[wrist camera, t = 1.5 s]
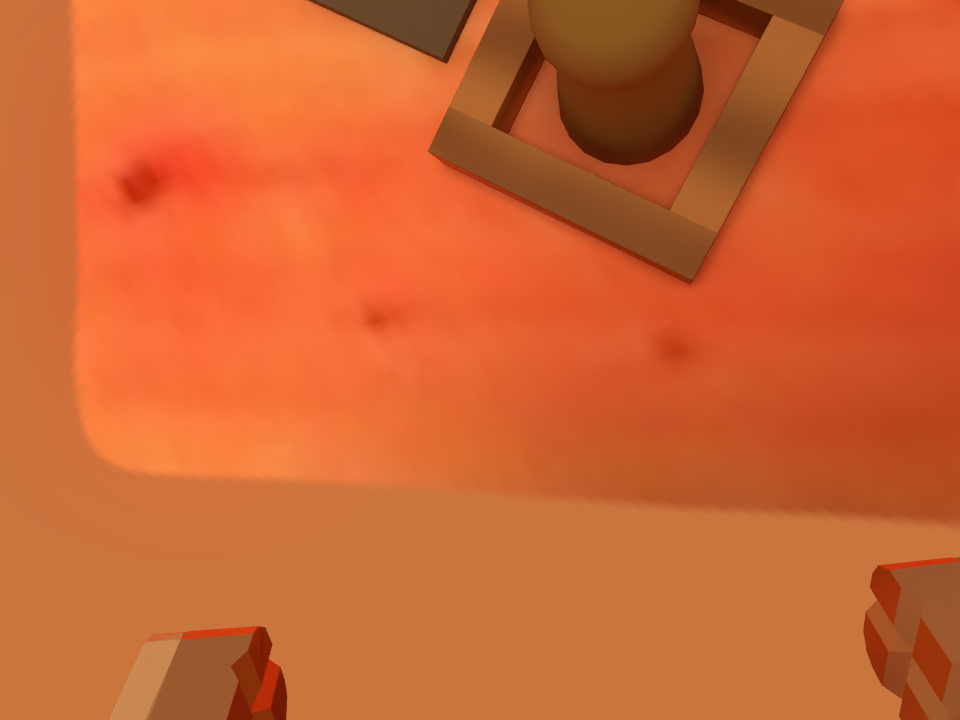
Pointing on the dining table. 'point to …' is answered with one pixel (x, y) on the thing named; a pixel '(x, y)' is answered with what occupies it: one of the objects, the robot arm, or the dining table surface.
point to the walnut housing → (596, 202)
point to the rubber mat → (410, 21)
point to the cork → (622, 73)
